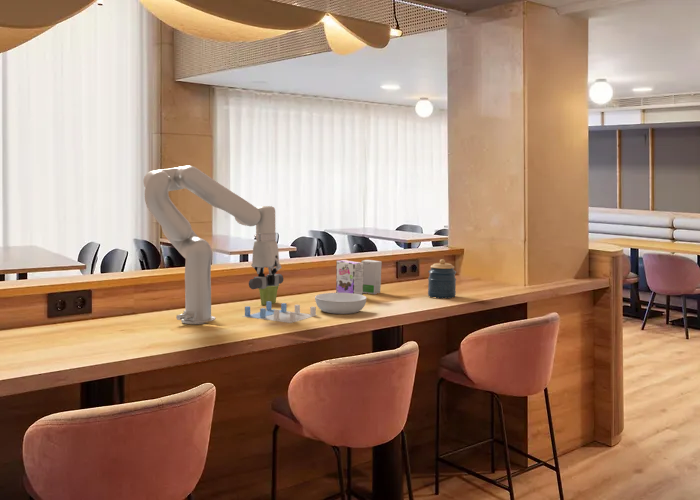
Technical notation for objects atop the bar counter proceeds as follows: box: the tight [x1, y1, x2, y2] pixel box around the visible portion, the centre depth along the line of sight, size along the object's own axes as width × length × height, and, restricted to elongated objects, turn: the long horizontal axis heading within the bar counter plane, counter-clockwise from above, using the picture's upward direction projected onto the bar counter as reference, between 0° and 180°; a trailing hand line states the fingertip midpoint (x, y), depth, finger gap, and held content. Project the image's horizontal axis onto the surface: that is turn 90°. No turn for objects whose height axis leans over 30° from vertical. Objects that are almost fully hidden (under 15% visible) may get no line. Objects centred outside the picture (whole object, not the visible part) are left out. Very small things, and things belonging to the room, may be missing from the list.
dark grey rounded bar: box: [248, 273, 284, 290], centre depth 272 cm, size 17×4×4 cm, turn 149°
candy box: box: [335, 259, 364, 296], centre depth 321 cm, size 14×6×16 cm, turn 37°
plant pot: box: [257, 284, 280, 306], centre depth 298 cm, size 9×9×9 cm
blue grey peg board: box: [242, 301, 318, 324], centre depth 269 cm, size 18×23×4 cm
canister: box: [427, 258, 457, 299], centre depth 323 cm, size 13×13×18 cm
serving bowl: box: [314, 292, 367, 315], centre depth 281 cm, size 21×21×7 cm
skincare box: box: [360, 259, 383, 295], centre depth 332 cm, size 8×7×16 cm
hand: (266, 283), depth 272 cm, fingers closed on dark grey rounded bar, 4 cm apart
